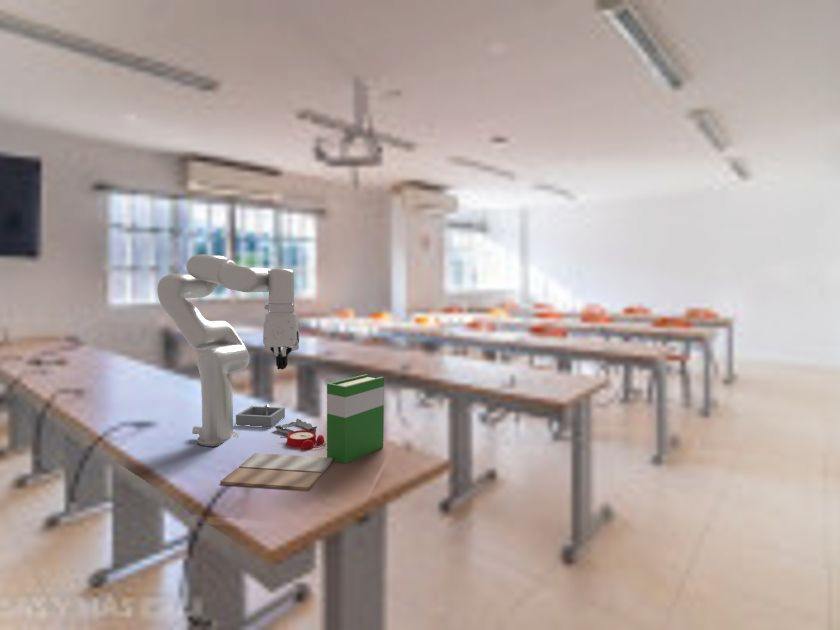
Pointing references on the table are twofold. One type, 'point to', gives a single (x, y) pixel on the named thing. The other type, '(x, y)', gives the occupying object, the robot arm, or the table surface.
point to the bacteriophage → (266, 409)
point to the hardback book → (354, 417)
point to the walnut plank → (271, 478)
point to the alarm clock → (304, 439)
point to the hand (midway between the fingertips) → (281, 368)
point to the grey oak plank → (287, 463)
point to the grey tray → (260, 416)
